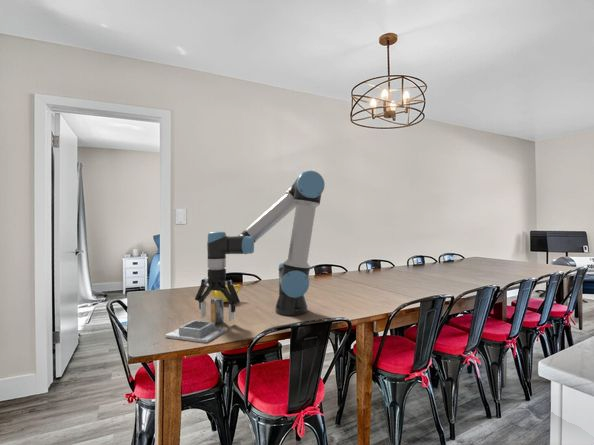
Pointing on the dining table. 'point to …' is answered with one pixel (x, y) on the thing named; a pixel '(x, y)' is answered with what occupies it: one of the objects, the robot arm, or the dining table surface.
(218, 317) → the grey rounded cylinder
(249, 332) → the dining table surface
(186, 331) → the collar
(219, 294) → the teapot
